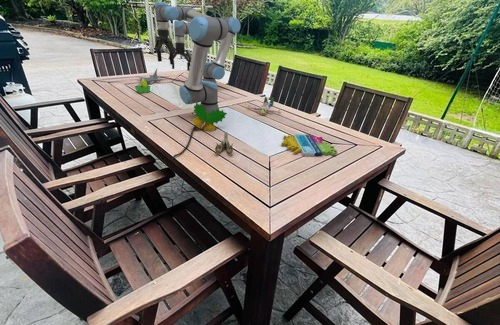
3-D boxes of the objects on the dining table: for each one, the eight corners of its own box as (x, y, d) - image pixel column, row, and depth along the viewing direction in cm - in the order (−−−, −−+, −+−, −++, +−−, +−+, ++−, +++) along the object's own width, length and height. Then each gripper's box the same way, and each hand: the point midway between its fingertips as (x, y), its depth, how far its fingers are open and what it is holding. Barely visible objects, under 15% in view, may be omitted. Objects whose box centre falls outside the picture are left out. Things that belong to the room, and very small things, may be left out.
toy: (286, 98, 212) (281, 108, 186) (285, 107, 216) (280, 118, 190) (253, 94, 217) (244, 103, 191) (252, 103, 221) (243, 112, 195)
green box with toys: (146, 90, 233) (145, 77, 228) (152, 92, 229) (151, 79, 223) (135, 92, 225) (132, 78, 220) (140, 94, 221) (139, 80, 215)
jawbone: (234, 135, 144) (233, 125, 135) (233, 160, 138) (232, 151, 129) (217, 135, 144) (216, 125, 135) (216, 160, 138) (214, 150, 129)
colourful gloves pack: (340, 153, 140) (285, 152, 138) (339, 156, 141) (285, 155, 138) (325, 134, 163) (277, 133, 160) (324, 137, 163) (277, 136, 161)
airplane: (130, 79, 264) (128, 69, 259) (162, 77, 277) (161, 68, 272) (135, 89, 236) (133, 78, 230) (170, 87, 249) (169, 76, 244)
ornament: (218, 133, 171) (224, 110, 169) (221, 134, 163) (227, 111, 161) (186, 125, 162) (192, 101, 160) (189, 126, 155) (195, 101, 153)
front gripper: (146, 27, 177) (150, 60, 188) (170, 30, 165) (172, 65, 175) (156, 27, 183) (159, 59, 193) (179, 30, 170) (181, 64, 180)
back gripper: (163, 40, 210) (165, 68, 220) (192, 44, 206) (193, 72, 216) (167, 40, 216) (169, 67, 226) (196, 43, 213) (196, 70, 223)
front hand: (165, 62), depth 184 cm, fingers open, 13 cm apart
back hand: (180, 69), depth 221 cm, fingers open, 13 cm apart
